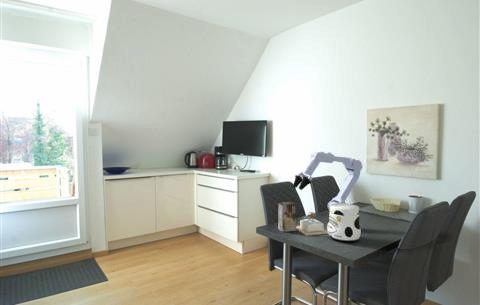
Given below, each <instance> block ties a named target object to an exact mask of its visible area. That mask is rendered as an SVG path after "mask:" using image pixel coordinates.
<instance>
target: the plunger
mask: <svg viewBox="0 0 480 305" xmlns="http://www.w3.org/2000/svg"><path fill="white" fill-rule="evenodd" d="M307 215H308V216H307V217H308V218H310V219H308V220H307V221H304V222H305V223H307V224H319V222H320V221H319V222H317V221H318V220H317V221H315V220H316V219H315V220H313V219H314V218H315V217H316V212H312V211H310V212H308V213H307Z"/></svg>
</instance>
